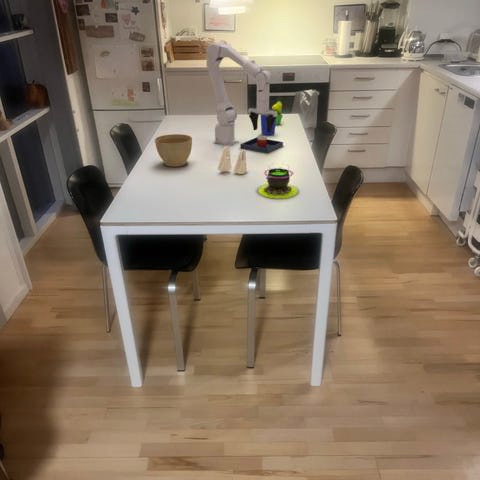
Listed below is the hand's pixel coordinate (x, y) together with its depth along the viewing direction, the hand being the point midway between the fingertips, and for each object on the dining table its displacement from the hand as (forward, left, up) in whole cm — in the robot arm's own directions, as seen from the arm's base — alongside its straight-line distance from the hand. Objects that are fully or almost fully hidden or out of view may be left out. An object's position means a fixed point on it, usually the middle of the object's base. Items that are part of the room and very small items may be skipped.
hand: (262, 130), depth 226 cm
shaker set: (+9, -38, -8) cm, 40 cm away
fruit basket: (-20, +45, -8) cm, 50 cm away
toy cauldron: (+36, -46, -8) cm, 59 cm away
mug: (-11, +24, -8) cm, 28 cm away
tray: (0, 0, -8) cm, 8 cm away
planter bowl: (-19, -42, -8) cm, 47 cm away
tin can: (0, 0, -8) cm, 8 cm away
